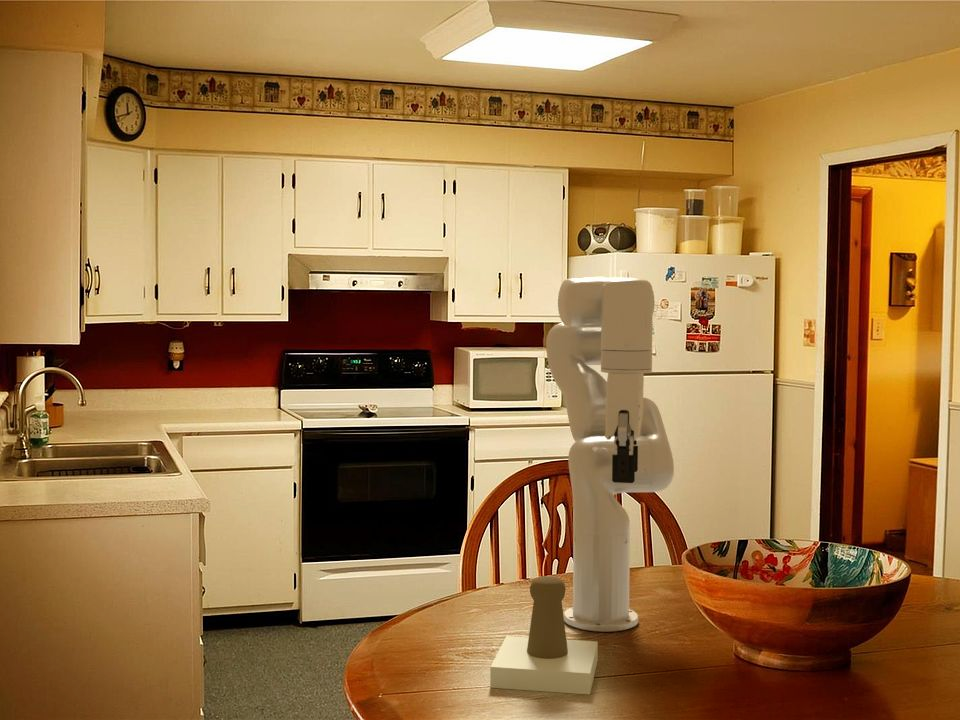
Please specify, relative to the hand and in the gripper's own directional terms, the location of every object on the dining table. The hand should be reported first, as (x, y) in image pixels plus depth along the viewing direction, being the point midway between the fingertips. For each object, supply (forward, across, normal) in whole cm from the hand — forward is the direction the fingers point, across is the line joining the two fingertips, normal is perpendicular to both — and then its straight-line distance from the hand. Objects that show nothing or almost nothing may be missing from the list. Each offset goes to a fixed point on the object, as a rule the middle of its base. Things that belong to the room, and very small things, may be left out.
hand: (625, 476), depth 159 cm
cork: (+25, +6, -11) cm, 28 cm away
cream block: (+28, +7, -11) cm, 31 cm away
